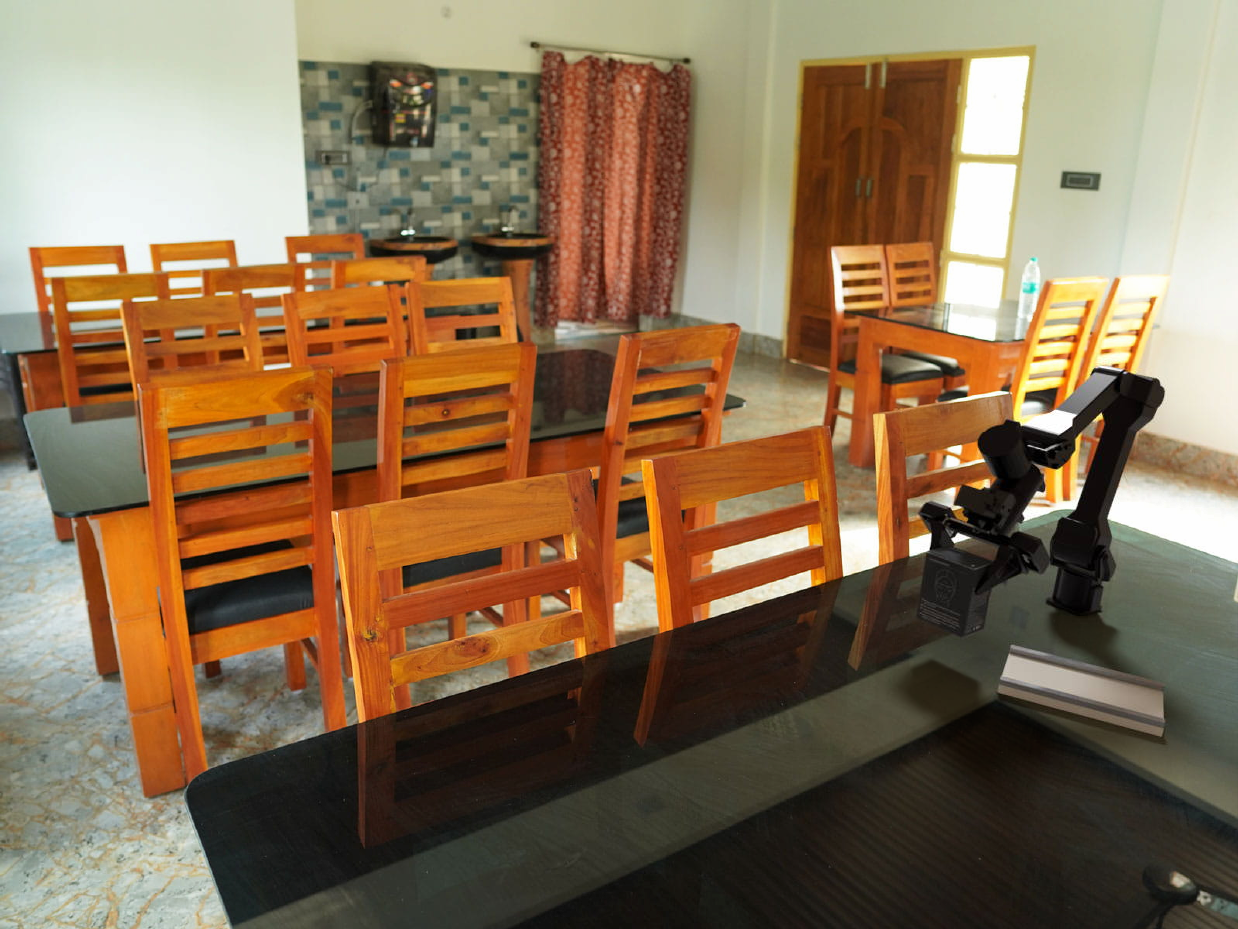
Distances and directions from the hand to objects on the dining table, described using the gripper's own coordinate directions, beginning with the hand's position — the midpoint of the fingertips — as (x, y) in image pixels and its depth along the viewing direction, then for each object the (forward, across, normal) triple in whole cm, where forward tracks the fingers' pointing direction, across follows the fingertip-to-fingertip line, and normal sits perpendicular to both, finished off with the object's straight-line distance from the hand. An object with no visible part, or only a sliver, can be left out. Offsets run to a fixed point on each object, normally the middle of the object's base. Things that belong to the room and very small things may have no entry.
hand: (950, 583), depth 141 cm
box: (+4, 0, +6) cm, 7 cm away
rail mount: (+2, +17, +15) cm, 22 cm away
